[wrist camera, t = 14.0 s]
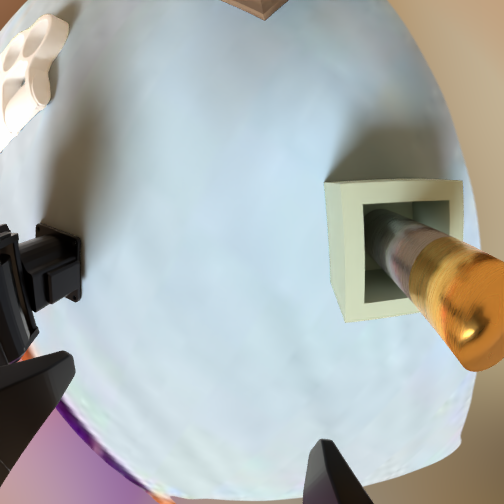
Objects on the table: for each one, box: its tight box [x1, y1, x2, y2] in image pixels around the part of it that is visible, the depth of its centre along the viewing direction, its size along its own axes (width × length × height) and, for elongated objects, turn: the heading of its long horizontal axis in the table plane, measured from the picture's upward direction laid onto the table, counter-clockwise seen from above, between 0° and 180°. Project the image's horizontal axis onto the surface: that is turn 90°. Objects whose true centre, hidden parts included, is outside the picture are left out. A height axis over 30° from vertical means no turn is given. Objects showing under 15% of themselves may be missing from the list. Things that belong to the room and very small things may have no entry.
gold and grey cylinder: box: [363, 209, 504, 372], centre depth 11 cm, size 3×3×12 cm
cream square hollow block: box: [324, 178, 464, 323], centre depth 15 cm, size 7×7×6 cm
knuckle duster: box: [0, 14, 69, 153], centre depth 17 cm, size 3×18×15 cm
